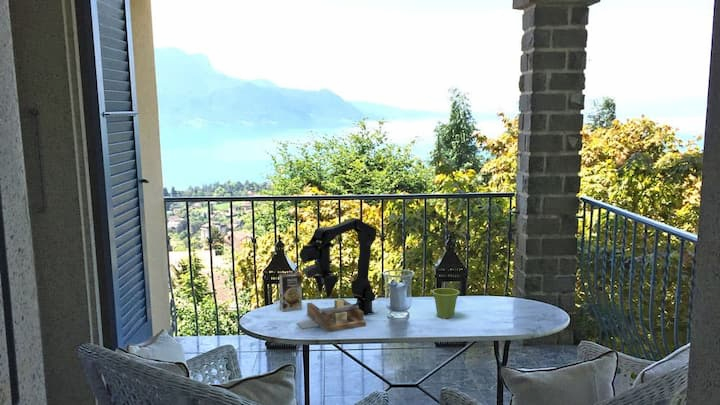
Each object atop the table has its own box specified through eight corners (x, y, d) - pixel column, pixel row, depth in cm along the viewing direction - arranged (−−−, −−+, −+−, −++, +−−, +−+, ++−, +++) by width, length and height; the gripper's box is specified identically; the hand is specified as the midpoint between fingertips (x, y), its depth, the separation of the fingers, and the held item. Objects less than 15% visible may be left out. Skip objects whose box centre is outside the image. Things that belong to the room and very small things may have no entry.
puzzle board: (342, 309, 270) (342, 298, 269) (365, 325, 248) (365, 313, 247) (307, 315, 262) (307, 303, 262) (328, 331, 240) (328, 318, 240)
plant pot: (457, 312, 266) (458, 288, 265) (459, 320, 254) (460, 295, 253) (431, 311, 267) (431, 287, 266) (432, 320, 256) (432, 294, 254)
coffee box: (282, 311, 267) (282, 277, 265) (279, 308, 273) (278, 273, 271) (302, 309, 270) (301, 275, 268) (298, 305, 276) (297, 272, 274)
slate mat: (313, 321, 254) (313, 320, 254) (319, 326, 247) (319, 325, 247) (296, 323, 251) (296, 322, 251) (302, 329, 244) (302, 328, 244)
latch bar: (355, 306, 256) (355, 297, 256) (358, 308, 253) (358, 298, 253) (319, 311, 249) (319, 302, 248) (321, 313, 246) (321, 303, 246)
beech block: (342, 320, 255) (342, 309, 254) (346, 324, 251) (346, 312, 250) (331, 322, 253) (331, 311, 252) (336, 325, 248) (336, 314, 248)
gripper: (297, 255, 252) (298, 291, 254) (312, 265, 235) (313, 303, 237) (322, 253, 256) (323, 288, 258) (338, 262, 239) (339, 299, 241)
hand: (324, 294), depth 248 cm, fingers open, 9 cm apart
